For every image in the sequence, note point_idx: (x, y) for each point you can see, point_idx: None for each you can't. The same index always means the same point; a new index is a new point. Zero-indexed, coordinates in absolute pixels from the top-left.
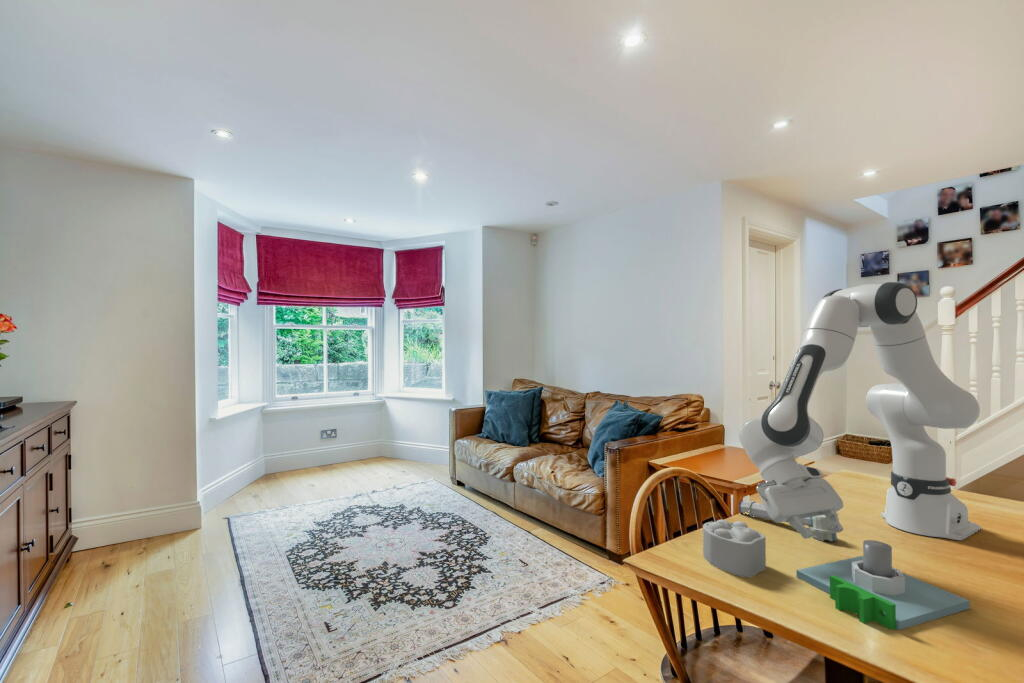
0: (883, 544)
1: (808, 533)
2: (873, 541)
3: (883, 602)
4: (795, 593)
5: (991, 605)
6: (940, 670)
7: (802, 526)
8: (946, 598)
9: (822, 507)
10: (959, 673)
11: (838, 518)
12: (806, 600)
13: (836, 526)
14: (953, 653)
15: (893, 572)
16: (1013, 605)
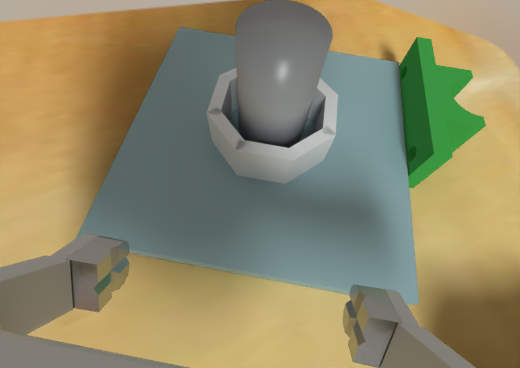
0: (257, 19)
1: (396, 294)
2: (258, 44)
3: (431, 51)
4: (489, 246)
5: (132, 29)
6: (434, 26)
7: (436, 337)
8: (209, 46)
9: (36, 360)
10: (415, 15)
11: (9, 265)
12: (485, 211)
13: (112, 255)
14: (373, 27)
15: (229, 91)
16: (99, 14)
